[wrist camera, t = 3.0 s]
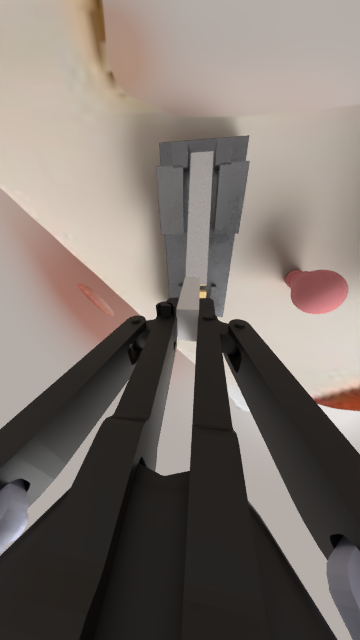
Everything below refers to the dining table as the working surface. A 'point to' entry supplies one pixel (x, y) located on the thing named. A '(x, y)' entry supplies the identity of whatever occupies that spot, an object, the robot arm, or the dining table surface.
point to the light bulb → (317, 290)
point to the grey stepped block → (223, 213)
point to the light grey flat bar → (199, 215)
